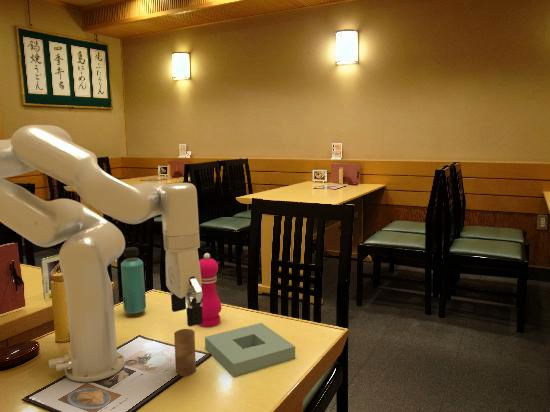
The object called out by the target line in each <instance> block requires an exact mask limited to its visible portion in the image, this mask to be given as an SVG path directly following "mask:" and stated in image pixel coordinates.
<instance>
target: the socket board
mask: <svg viewBox="0 0 550 412" xmlns="http://www.w3.org/2000/svg"><path fill="white" fill-rule="evenodd" d="M204 348H205V350H206V351H207V352H208V353H209V354H211V356H212V357H214V359H215V360H216V361H217V362H218V363H219V364H220V365H221V366H223V367H224V369H225V370H227V372H228V373H230V374H231V376H232V377H233V378H234V377H239V376H242V375H245V374H248V373H252V372H255V371H258V370H261V369H265V368H269V367H272V366H275V365H278V364H282V363H285V362H288V361H290V360H295V359H296V346H295V345H294V344H293V343H291V342H290V341H289V340H287V339H286V338H284V337H283V336H281V335H280V334H278V333H277V332H275V331H274V330H272V328H270V327H268V325H265V324H264V323H262V322H258V323H255V324H251V325H247V326H243V327H239V328H235V329H230V330H227V331H223V332H219V333H214V334H211V335H207V336H205V337H204Z"/></svg>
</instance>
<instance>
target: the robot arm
mask: <svg viewBox="0 0 550 412" xmlns="http://www.w3.org/2000/svg"><path fill="white" fill-rule="evenodd" d="M33 171H39V172H41V173H43V174H45V175H47V176H49V177H51V178H53V179H55V180H57V181H59V182H60V183H63V184H64V185H66V186H68V187H70V188H72V189H74V191H75V192H76V193H77V194H78V196H79V197H80V198H81V199H83V201H85V202H86V204H88V205H89V206H90V207H92V208H94V209H95V210H98V212H101V213H103V214H104V215H107V216H109V217H110V218H113V219H115V220H117V221H120V222H122V223H125V224H130V225H137V224H142V223H143V222H145V221H147V220H148V219H151V218H154V217H157V216H159V215H161V221H162V223H161V224H162V234H163V235H162V236H163V249H164V251H165V285H166V287H167V289H168V290H169V291H170V294H171V295H170V301H171V311H172V312H173V313H175V312H181V311H184V310H186V321H187V322H186V324H187V326H188V327H194V326H199V325H198V324H202V323H203V318H202V300H203V299H202V294H203V292H202V289H201V272H200V263H199V261H200V259H199V258H200V257H199V251H198V249H199V248H200V247H201V242H200V241H201V240H200V224H199V223H200V222H199V208H198V207H199V206H198V205H199V204H198V193H197V188H196V186H195V185H194V184H193V183H191V182H190V183H189V182H173V183H172V182H171V183H161V182H160V183H159V182H154V181H153V182H152V181H151V182H150V181H147V182H141V183H137V184H134V185H130V184H128V183H126V182H124V181H122V180H120V179H117V178H115V176H112V175H110V174H109V173H107V172H106V171H105V170H103V169H102V168H101V167H100V166H99V164H98V158H97V156H96V154H95V153H94V152H93V151H90V150H89V149H86V148H84V147H82V146H81V145H78V144H76V143H74V141H73V138H72V137H71V135H70V134H69V133H68V132H67V131H66V130H65V129H63V128H61V127H60V126H56V125H49V124H29V125H25V126H21V127H20V128H19V129H17V130H16V131H15V132H14V133H13V134H12V136H11V138H9V139H0V223H1V224H3V225H4V226H6V227H7V228H9V229H11V230H12V231H13V232H16V234H18V235H20V236H22V237H23V238H25V239H26V240H28V241H29V242H30V243H32V244H34V245H35V246H37V247H38V246H39V247H42V248H50V247H53V246H56V245H57V244H61V243H62V242H63V244H62V245H61V247H60V250H59V253H58V262H59V267H60V271H61V274H62V279H63V282H64V288H65V294H66V295H65V296H66V297H65V298H66V306H67V315H68V326H69V327H68V328H69V329H68V331H69V339H70V349H68V350H67V352H68V354H64V355H63V357H56V358H52V359H48V369H49V370H51V369H55V368H56V372H59V371H63V370H64V374H65V377H67V379H68V380H71V381H73V382H74V381H75V382H79V383H80V382H82V383H89V382H96V381H101V380H104V379H107V378H110V377H113V376H114V375H115V374H117V373H118V372H120V371H121V370H122V369H123V368H124V366H125V357H124V355H123V354H121V353H120V352H117V351H118V350H117V349H118V348H117V336H116V334H117V333H116V317H115V303H114V300H115V299H114V292H113V285H112V280H111V277H110V275H109V271H108V267H109V266H110V265H111V264H112V263H113V262H115V261H116V260H118V259H119V258H120V257H121V256H122V254H124V249H125V248H126V240H125V236H124V234H123V232H122V231H121V229H119V228H118V227H117V226H116V225H115V224H114V223H112V222H110V221H109V220H107V219H106V218H104V217H103V216H101V215H99V214H98V213H96V212H95V211H93V209H90V208H89V207H87V206H86V205H84V204H82V203H81V202H79V201H76V200H73V199H69V198H57V199H53V200H45V199H42V198H40V197H38V196H37V195H35V194H33V193H31V191H29V190H27V189H26V188H24V187H22V186H21V185H18V184H16V183H15V182H11V181H9V180H6V178H11V177H16V176H20V175H24V174H27V173H30V172H33ZM191 298H192V299H191Z"/></svg>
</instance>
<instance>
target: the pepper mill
mask: <svg viewBox="0 0 550 412" xmlns="http://www.w3.org/2000/svg"><path fill="white" fill-rule="evenodd" d="M199 263H200V272H201V289H202V292H203V294H202V299H203V300H202V318H203V323H202V324H198V325H197V326H200V327H202V328H211V327H215V326H217V325H219V324H220V323H221V316H220V313H221V312H222V302H221V300H220V298H219V297H220V296H219V294H218V293H217V289H216V282H217V280H218V279H217V273H218V271H219V265H218V264H219V263H218V262H217V261H216V260H215V259H214V258H211V254H210V253H208V252H206V253H204V255H203V258H202V259H199Z"/></svg>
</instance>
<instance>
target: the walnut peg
mask: <svg viewBox="0 0 550 412" xmlns="http://www.w3.org/2000/svg"><path fill="white" fill-rule="evenodd" d="M195 332H196V331H195V330H193V329H191V328H182V329H179V330H176V331H174V333H173V334H174V335H173V336H174V337H173V339H174V359H175V373H177V374H179V375H180V377H188V376H192V375H194V374H195V373H196V371H197V365H196V338H195V337H196V336H195V334H196V333H195ZM177 374H176V375H177ZM179 375H178V376H179Z"/></svg>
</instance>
